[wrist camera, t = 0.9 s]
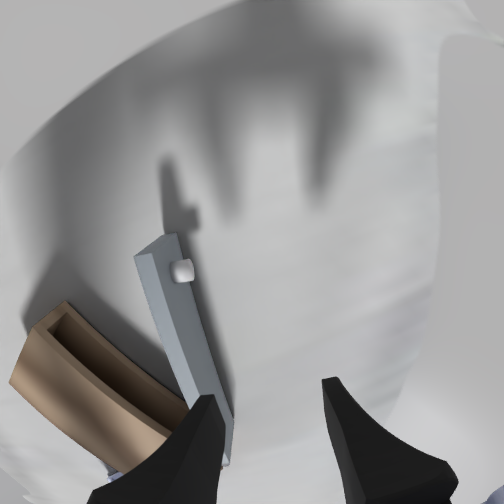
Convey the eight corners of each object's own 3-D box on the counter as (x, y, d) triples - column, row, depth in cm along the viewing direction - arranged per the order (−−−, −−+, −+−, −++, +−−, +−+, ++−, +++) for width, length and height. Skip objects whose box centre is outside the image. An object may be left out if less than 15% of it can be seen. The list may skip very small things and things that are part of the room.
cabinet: (170, 461, 25) (160, 494, 21) (34, 356, 22) (8, 382, 18) (227, 429, 23) (222, 469, 19) (65, 300, 20) (32, 326, 16)
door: (224, 427, 23) (218, 468, 19) (161, 235, 18) (133, 256, 14) (247, 426, 23) (245, 467, 18) (191, 229, 18) (171, 249, 14)
